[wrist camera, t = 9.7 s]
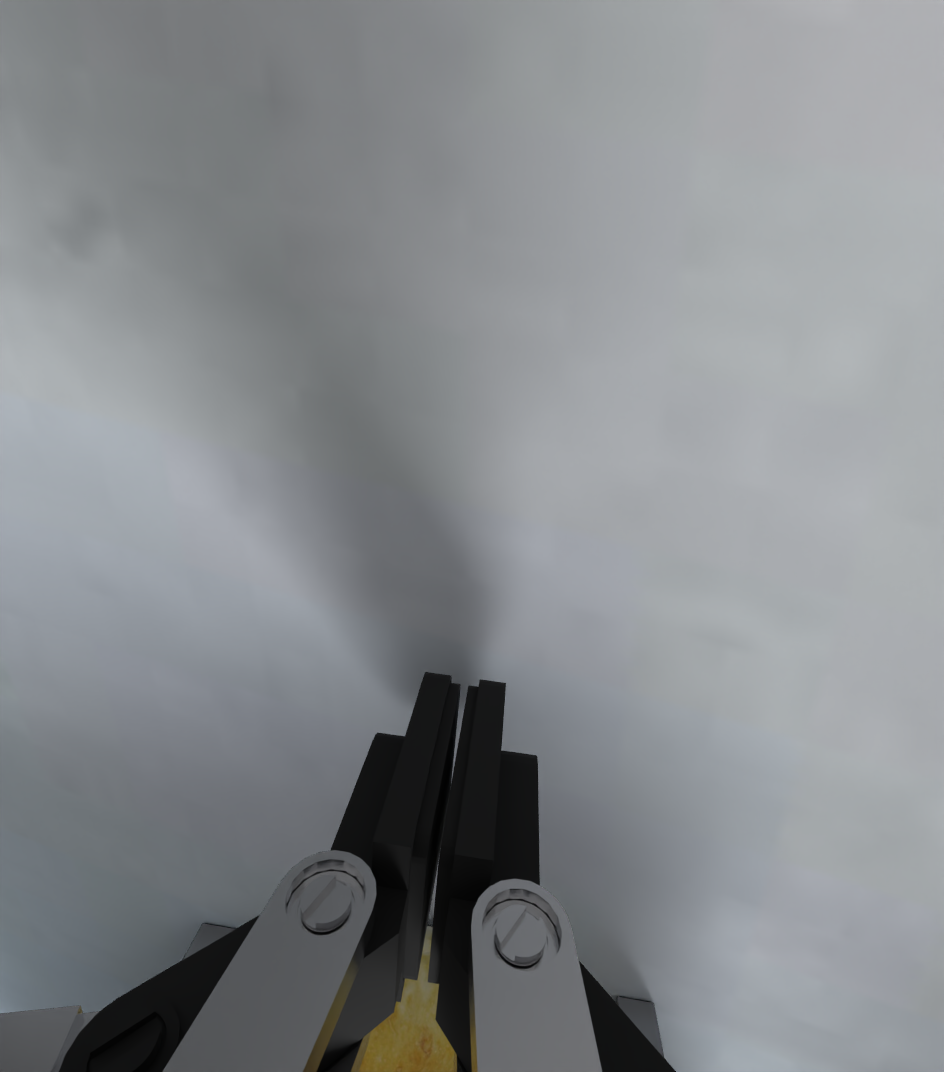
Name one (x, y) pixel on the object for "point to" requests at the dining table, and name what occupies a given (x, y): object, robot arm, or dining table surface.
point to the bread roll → (411, 1030)
